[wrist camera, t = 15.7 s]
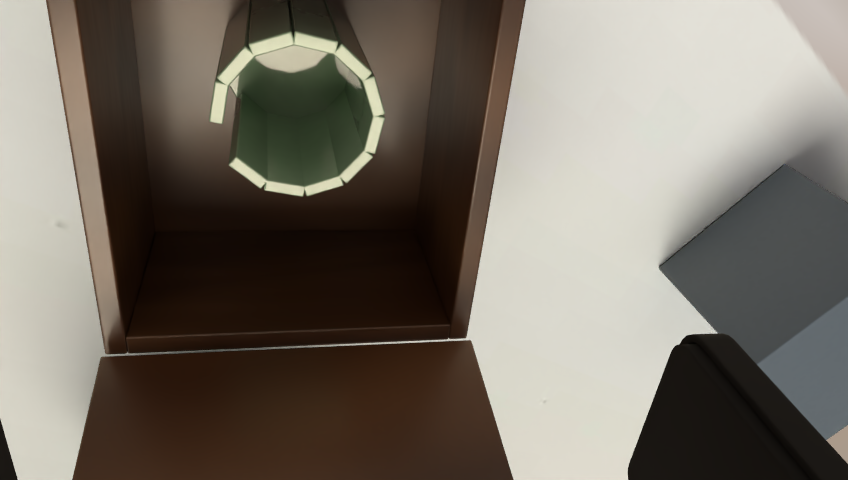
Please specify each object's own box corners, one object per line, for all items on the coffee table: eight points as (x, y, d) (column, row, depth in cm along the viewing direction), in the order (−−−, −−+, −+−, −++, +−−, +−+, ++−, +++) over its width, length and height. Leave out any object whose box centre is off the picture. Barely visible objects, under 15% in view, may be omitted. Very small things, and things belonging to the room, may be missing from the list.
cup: (284, -43, 23) (290, -6, 18) (384, 56, 26) (416, 114, 20) (194, 61, 24) (173, 125, 19) (298, 146, 27) (306, 224, 21)
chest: (99, -119, 22) (28, -100, 15) (464, -80, 24) (535, -51, 18) (141, 237, 28) (104, 355, 22) (425, 235, 31) (466, 339, 25)
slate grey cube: (785, 163, 33) (916, 245, 26) (842, 250, 37) (969, 341, 30) (658, 267, 35) (751, 369, 28) (725, 340, 39) (821, 444, 32)
